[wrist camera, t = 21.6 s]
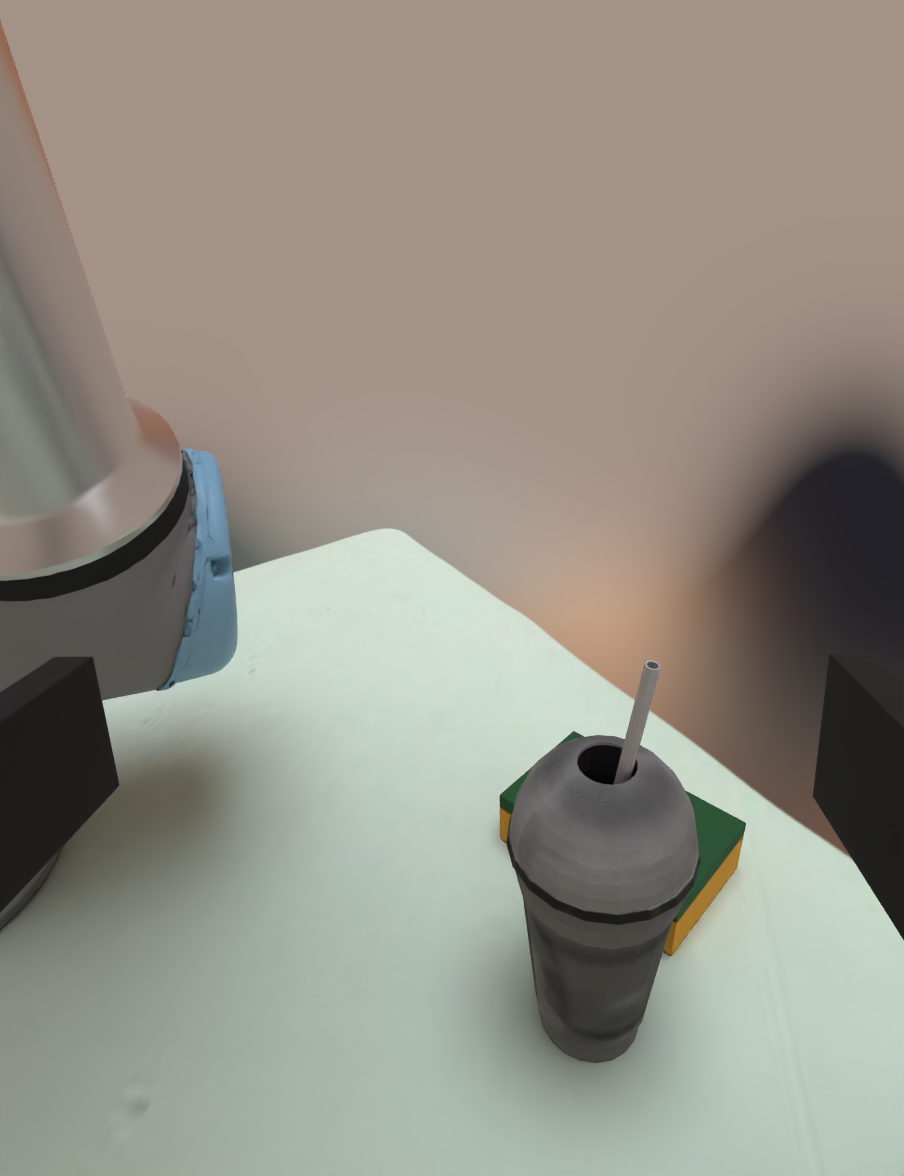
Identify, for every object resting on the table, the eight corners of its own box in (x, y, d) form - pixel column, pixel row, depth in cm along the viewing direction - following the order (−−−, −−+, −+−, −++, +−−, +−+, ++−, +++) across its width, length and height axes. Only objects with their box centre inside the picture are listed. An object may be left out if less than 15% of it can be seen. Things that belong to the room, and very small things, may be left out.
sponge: (500, 838, 43) (499, 794, 42) (571, 772, 48) (573, 730, 46) (671, 956, 37) (678, 910, 35) (737, 867, 41) (746, 822, 39)
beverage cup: (530, 922, 39) (531, 589, 28) (676, 961, 36) (735, 614, 26) (490, 1065, 33) (474, 709, 23) (662, 1121, 30) (731, 755, 20)
